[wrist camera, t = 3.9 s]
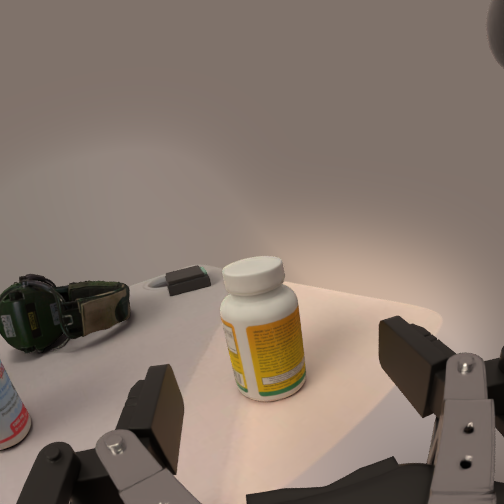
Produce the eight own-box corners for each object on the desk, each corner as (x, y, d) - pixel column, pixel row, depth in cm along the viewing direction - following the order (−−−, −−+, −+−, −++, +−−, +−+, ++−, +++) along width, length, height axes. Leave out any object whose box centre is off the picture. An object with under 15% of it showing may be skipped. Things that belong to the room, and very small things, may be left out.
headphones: (-3, 340, 23) (154, 303, 37) (-16, 246, 28) (116, 229, 43) (15, 386, 30) (134, 352, 45) (-5, 307, 36) (102, 286, 50)
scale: (203, 275, 56) (200, 263, 55) (211, 285, 49) (208, 272, 49) (167, 285, 54) (164, 273, 53) (170, 296, 48) (166, 282, 47)
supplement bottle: (225, 395, 22) (194, 277, 20) (259, 359, 27) (238, 253, 24) (289, 410, 19) (268, 279, 17) (317, 366, 24) (304, 251, 22)
